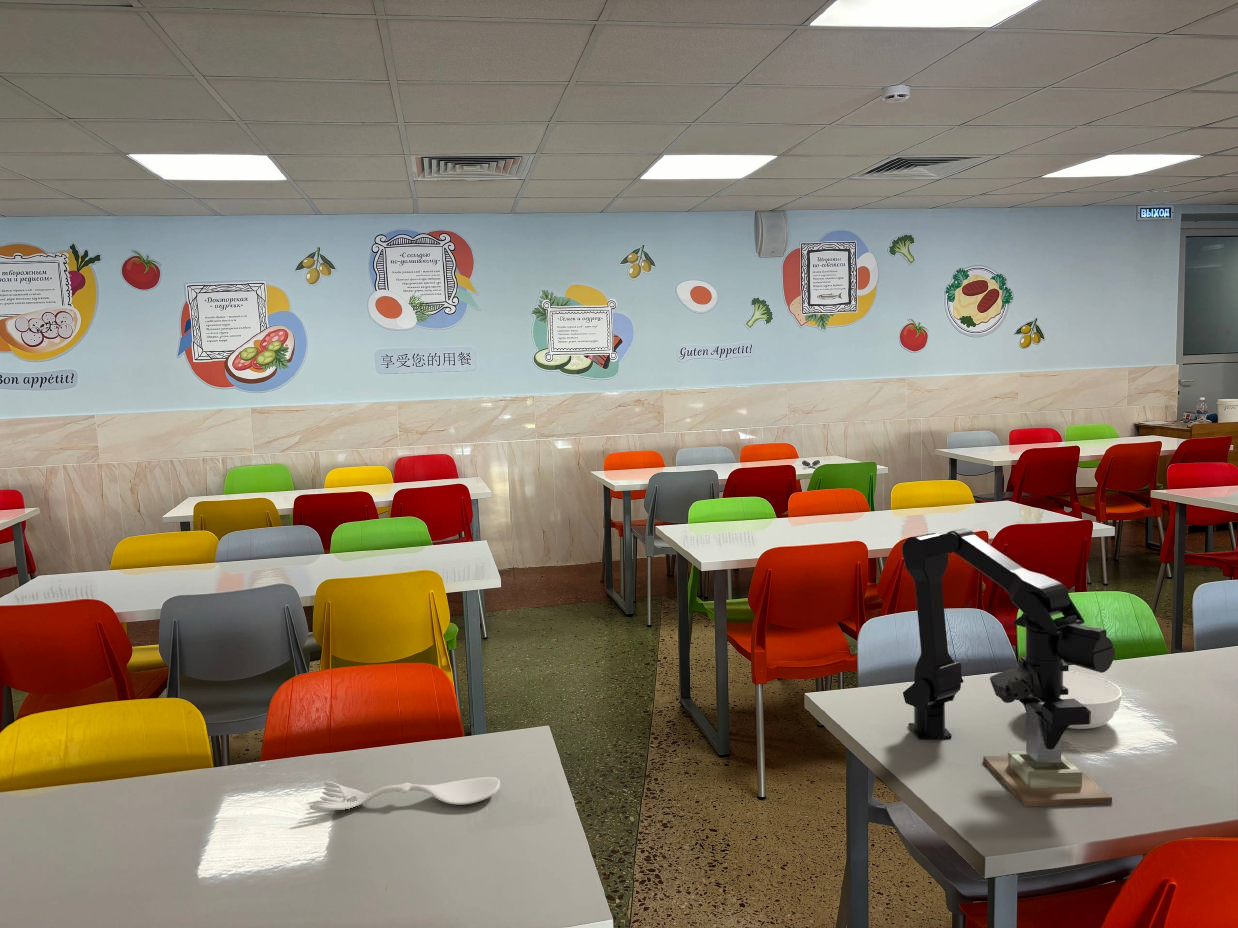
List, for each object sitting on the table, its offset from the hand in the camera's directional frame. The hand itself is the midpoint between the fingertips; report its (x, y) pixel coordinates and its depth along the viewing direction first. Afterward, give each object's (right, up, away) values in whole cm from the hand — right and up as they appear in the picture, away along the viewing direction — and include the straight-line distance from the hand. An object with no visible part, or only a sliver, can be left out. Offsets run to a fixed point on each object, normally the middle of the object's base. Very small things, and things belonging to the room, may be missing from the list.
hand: (1043, 743), depth 141 cm
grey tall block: (0, -3, 0) cm, 2 cm away
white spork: (-110, -12, +4) cm, 111 cm away
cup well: (0, -7, +1) cm, 7 cm away
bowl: (+18, -4, +24) cm, 30 cm away
